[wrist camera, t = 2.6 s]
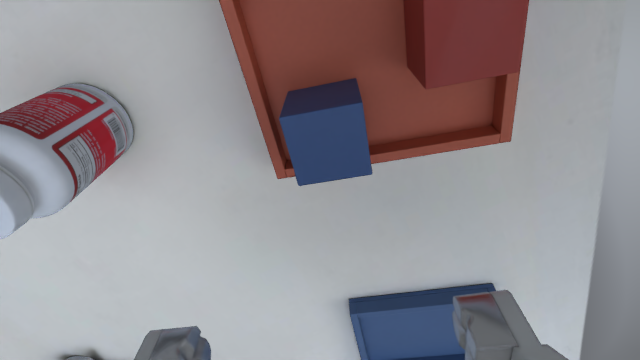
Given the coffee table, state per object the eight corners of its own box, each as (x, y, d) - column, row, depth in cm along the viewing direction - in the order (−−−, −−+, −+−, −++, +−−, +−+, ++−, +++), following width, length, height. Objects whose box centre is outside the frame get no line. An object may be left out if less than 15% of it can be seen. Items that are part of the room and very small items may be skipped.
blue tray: (492, 283, 35) (500, 299, 33) (483, 351, 42) (490, 367, 40) (348, 298, 37) (349, 314, 35) (364, 361, 44) (365, 376, 42)
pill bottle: (37, 109, 25) (-136, 192, 16) (84, 64, 23) (-81, 128, 14) (105, 167, 28) (-7, 266, 18) (152, 131, 26) (54, 222, 16)
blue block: (356, 77, 23) (362, 102, 18) (365, 140, 25) (372, 174, 21) (287, 91, 23) (278, 117, 19) (303, 151, 26) (298, 186, 22)
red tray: (522, -93, 18) (542, -100, 16) (498, 130, 25) (511, 141, 23) (222, -19, 20) (212, -18, 18) (280, 166, 27) (277, 179, 26)
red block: (488, -36, 19) (534, -38, 15) (482, 52, 21) (520, 72, 17) (402, -16, 19) (422, -12, 15) (406, 67, 22) (425, 90, 18)
